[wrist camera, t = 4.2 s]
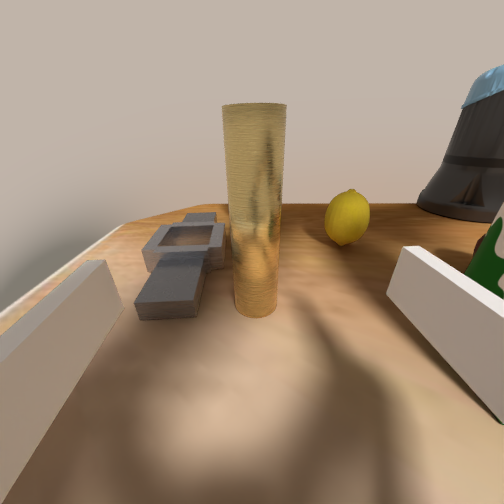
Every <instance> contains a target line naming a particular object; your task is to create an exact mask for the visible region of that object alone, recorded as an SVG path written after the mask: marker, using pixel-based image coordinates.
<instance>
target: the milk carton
mask: <svg viewBox="0 0 504 504" xmlns="http://www.w3.org/2000/svg"><path fill="white" fill-rule="evenodd" d="M464 275H465V276H467V277H468V278H470V279H472V280H473V281H475V282H476V283H478V284H479V285H481V286H483V287H484V288H486V289H487V290H489V291H490V292H492V293H493V294H495V295H497V296H498V297H500V298H501V299H503V300H504V202H503V204H502V206H501V208H500V210H499V212H498V213H497V215H496V217H495V219H494V221H493V223H492V224H491V226H490V228H489V230H488V232H487V233H486V235H485V237H484V239H483V241H482V243H481V244H480V246H479V248H478V250H477V252H476V253H475V255H474V257H473V259H472V261H471V263H470V264H469V266H468V268H467V270H466V272H465V273H464ZM492 413H493V412H492ZM493 414H494V413H493ZM494 415H495V414H494ZM495 417H496V415H495ZM496 418H497V417H496ZM497 419H498V418H497ZM498 421H499V422H500V423H501V424H502V425H504V424H503V423H502V422H501V421H500V420H499V419H498Z"/></svg>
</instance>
